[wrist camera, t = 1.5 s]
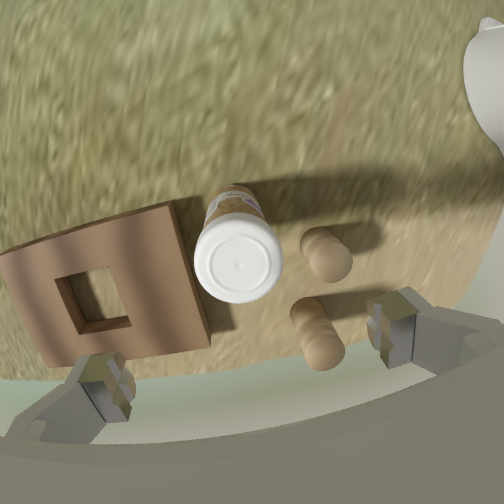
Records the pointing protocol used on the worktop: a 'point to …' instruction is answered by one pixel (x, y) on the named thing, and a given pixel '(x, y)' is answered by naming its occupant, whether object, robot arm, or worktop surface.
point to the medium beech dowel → (316, 335)
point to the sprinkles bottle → (237, 248)
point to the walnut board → (126, 280)
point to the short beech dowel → (326, 255)
